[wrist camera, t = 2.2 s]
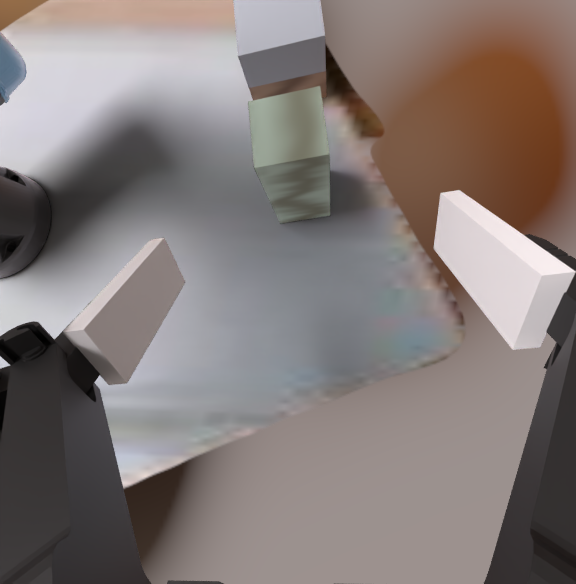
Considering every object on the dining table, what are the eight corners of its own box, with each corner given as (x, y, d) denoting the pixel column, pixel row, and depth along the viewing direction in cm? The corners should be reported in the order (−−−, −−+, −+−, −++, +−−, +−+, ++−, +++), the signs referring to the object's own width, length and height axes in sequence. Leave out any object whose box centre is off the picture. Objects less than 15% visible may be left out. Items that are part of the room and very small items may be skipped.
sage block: (280, 223, 35) (254, 168, 23) (275, 177, 36) (247, 101, 24) (330, 215, 34) (329, 154, 22) (324, 168, 35) (320, 86, 23)
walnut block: (257, 113, 38) (249, 88, 34) (252, 54, 39) (243, 23, 35) (326, 99, 36) (326, 71, 33) (318, 38, 38) (317, 4, 34)
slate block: (248, 88, 34) (238, 55, 30) (243, 23, 35) (232, -16, 31) (325, 71, 33) (325, 35, 29) (316, 4, 34) (314, -38, 30)
